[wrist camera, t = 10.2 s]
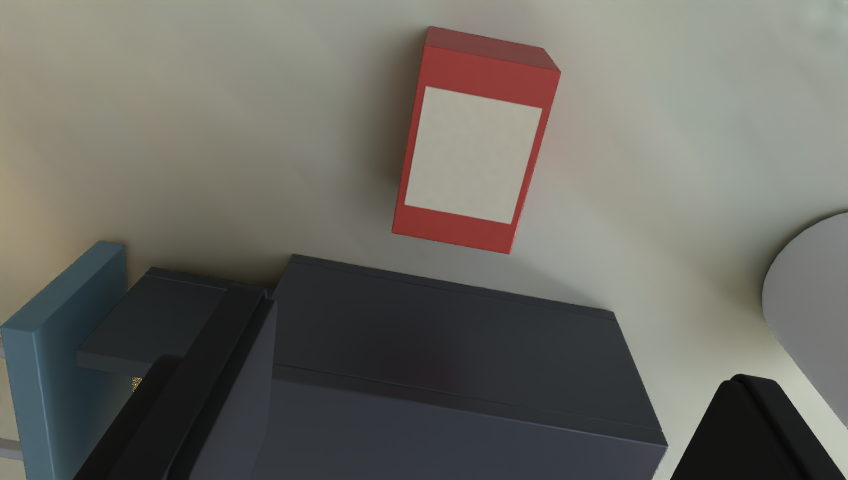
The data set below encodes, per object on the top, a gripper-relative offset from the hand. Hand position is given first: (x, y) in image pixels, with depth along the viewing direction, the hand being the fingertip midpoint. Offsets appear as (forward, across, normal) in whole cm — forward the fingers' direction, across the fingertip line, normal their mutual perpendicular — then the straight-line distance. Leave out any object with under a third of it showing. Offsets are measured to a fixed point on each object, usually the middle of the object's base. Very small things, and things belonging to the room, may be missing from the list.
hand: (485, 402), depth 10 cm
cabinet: (+17, -1, +14) cm, 22 cm away
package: (+17, 0, 0) cm, 17 cm away
